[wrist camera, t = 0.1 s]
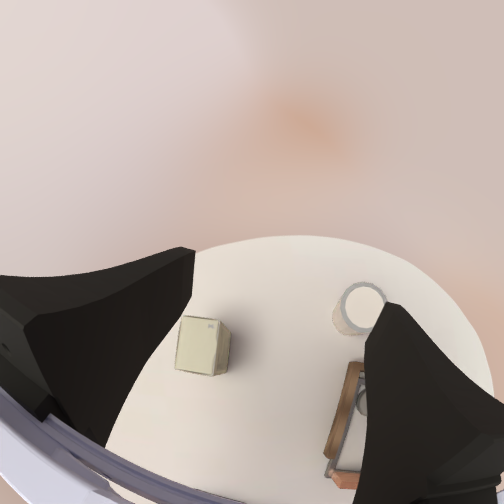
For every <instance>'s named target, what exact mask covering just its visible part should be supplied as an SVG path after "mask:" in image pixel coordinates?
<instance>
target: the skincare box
mask: <svg viewBox="0 0 504 504" xmlns="http://www.w3.org/2000/svg"><path fill="white" fill-rule="evenodd" d="M230 338H231V332H230V331H229V330H228V329H227V328H226V327H225V326H224V324H223V323H222V322H221V321H220V320H218V319H212V318H205V317H197V316H188V315H182V318H181V322H180V327H179V333H178V340H177V348H176V357H175V369H176V370H180V371H184V372H189V373H193V374H199V375H205V376H215V375H220V374H224V373H226V371H227V365H228V357H229V348H230Z"/></svg>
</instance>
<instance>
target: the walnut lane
mask: <svg viewBox="0 0 504 504" xmlns="http://www.w3.org/2000/svg"><path fill="white" fill-rule="evenodd" d="M360 371H361V372H364V363H361V362H349V365H348V369H347V373H346V377H345V381H344V385H343V389H342V393H341V397H340V400H339V404H338V408H337V411H336V415H335V418H334V421H333V425H332V428H331V431H330V434H329V437H328V441H327V444H326V447H325V450H324V452H323V454H324V455H325V456H326V457H327V458H328V459H335V457H336V454H337V451H338V448H339V445H340V442H341V439H342V436H343V432H344V429H345V426H346V423H347V419H348V416H349V412H350V409H351V405H352V401H353V398H354V394H355V390H356V386H357V382H358V378H359V373H360Z"/></svg>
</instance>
